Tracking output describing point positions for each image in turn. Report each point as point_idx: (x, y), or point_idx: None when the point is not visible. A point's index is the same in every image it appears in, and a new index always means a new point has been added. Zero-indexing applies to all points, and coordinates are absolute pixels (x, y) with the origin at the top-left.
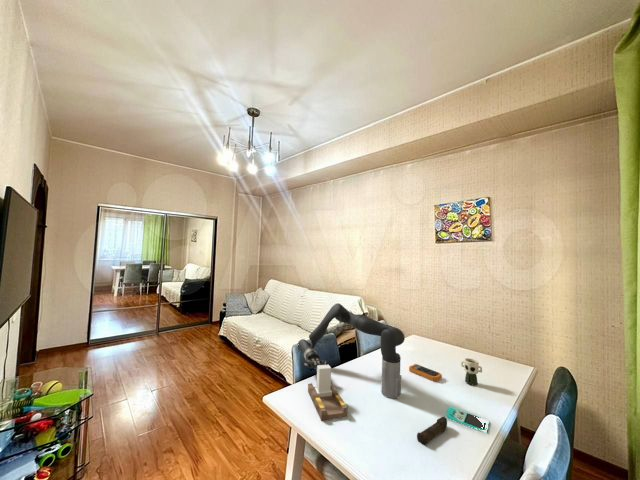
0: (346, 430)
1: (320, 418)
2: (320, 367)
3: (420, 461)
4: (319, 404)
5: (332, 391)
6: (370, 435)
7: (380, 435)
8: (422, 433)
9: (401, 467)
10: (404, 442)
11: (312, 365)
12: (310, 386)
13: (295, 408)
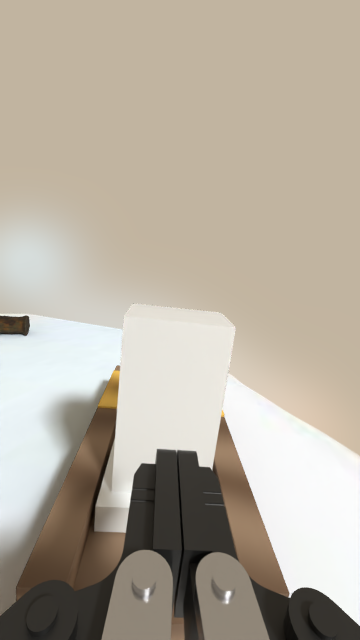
0: None
1: None
2: (210, 316)
3: (70, 327)
4: None
5: (109, 444)
6: (102, 356)
7: (81, 352)
8: (21, 318)
9: (105, 330)
10: (53, 339)
11: (308, 611)
12: (257, 528)
13: (310, 467)
